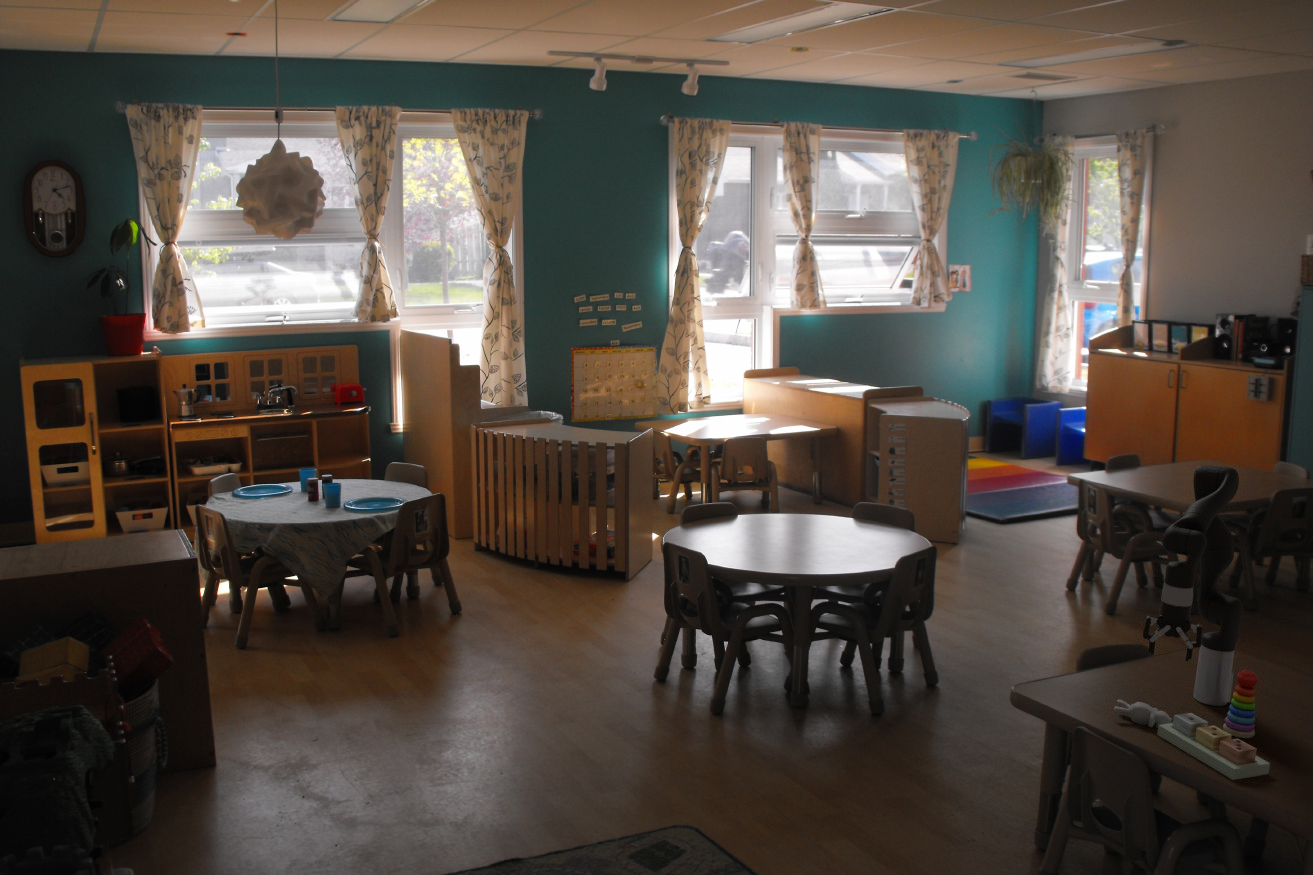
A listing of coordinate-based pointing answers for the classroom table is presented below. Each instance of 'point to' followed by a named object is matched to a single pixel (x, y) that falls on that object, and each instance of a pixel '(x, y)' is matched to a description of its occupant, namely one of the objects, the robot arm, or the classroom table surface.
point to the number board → (1212, 755)
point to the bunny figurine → (1143, 714)
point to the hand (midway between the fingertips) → (1169, 657)
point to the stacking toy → (1242, 707)
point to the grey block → (1188, 724)
